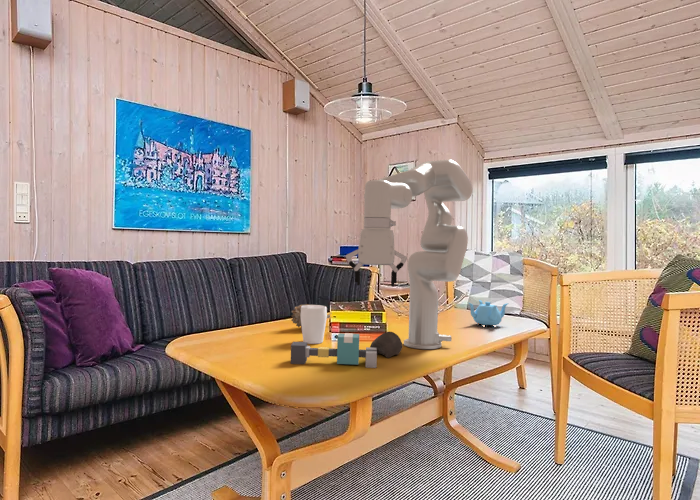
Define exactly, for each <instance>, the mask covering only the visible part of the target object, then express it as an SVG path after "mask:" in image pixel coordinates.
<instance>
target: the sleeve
mask: <svg viewBox="0 0 700 500" xmlns="http://www.w3.org/2000/svg"><path fill="white" fill-rule="evenodd" d="M336 344H337V346H336V349H337V357H336V364H337V365H359V362H360V361H359V360H360V357H359V350H360V333H352V332H351V333H349V332H345V333H340V332H338V334H337V341H336Z"/></svg>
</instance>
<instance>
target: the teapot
mask: <svg viewBox="0 0 700 500" xmlns="http://www.w3.org/2000/svg"><path fill="white" fill-rule="evenodd" d="M478 302H479V305H478V306H477V307H476V309H475V308H474V304H473V303H471V302H468V304H469V306H470V316H471V317H472V318H473V321H474V323H477V324H478V323H479V324H482V325H486V326H492V325H497V326H498V325H499V324H500V323H501V322H502V320H503V318H504V316H505V314H506V307H507V306H508V305H509V303H507V302H506V303H504V304H503V305H502V306H501V310H500V309H499V308H498V307H497V306H498V305H495V304H491V301H485V302H484V303H483V300H481V299H478ZM482 325H481V326H482Z"/></svg>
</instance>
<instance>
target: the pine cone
mask: <svg viewBox="0 0 700 500" xmlns="http://www.w3.org/2000/svg"><path fill="white" fill-rule="evenodd" d="M304 305H310V304H309V303H305V304H299V305H297V306H295V307H294V309H293V310H291V313H292V314H291V315H290V316H291V317H292V319H291V321H290V322H292V324H296V327H298V328H301V329H302V326H301V317H300V314H301V306H304ZM330 314H331V313H329V314H327V319H329V318H331V317H330Z"/></svg>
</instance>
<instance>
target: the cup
mask: <svg viewBox="0 0 700 500" xmlns="http://www.w3.org/2000/svg"><path fill="white" fill-rule="evenodd" d="M303 305H304V306H301V314H300V317H301V326H302V328H301V333H302V342H307V345H309V344H310V345H317V344H322V343H323V342H324V337H325V330H326V325H327V319H328V318H327V315H328V313H327V312H328V311H327V310H328V308H327V306H326V305H321V304H309V305H305V304H303ZM301 326H300V327H301Z"/></svg>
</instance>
